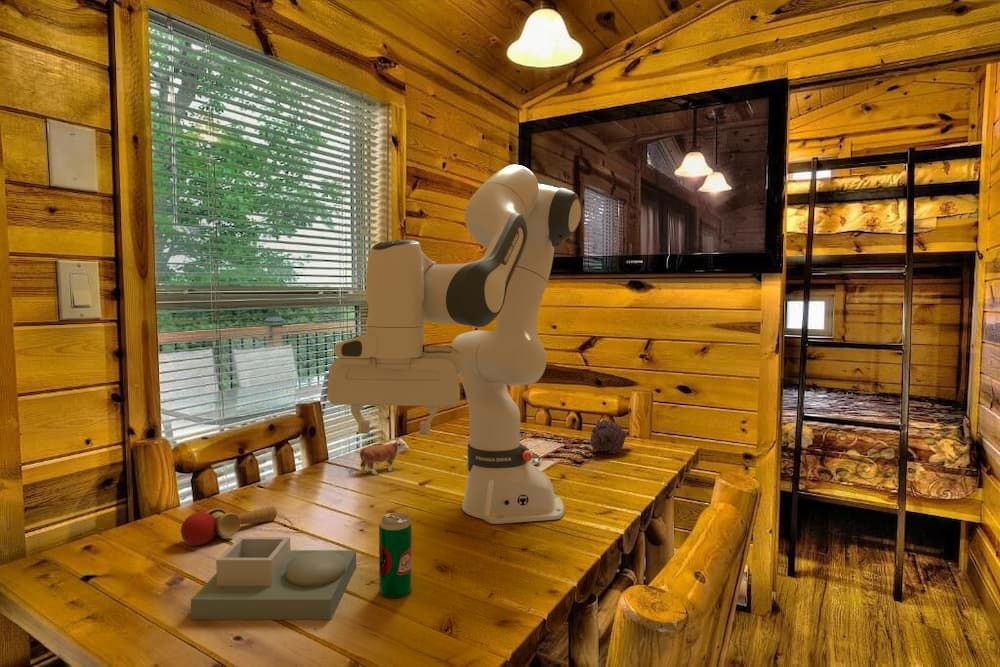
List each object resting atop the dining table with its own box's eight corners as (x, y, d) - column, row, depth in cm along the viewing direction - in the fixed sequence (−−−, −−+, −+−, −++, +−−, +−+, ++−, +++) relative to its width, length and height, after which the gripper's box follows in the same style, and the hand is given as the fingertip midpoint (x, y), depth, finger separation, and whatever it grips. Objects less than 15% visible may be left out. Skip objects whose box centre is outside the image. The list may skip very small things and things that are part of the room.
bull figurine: (410, 469, 155) (410, 439, 155) (362, 477, 148) (362, 446, 147) (403, 465, 159) (403, 435, 158) (356, 473, 151) (356, 442, 151)
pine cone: (605, 463, 163) (606, 428, 162) (576, 456, 169) (576, 422, 169) (636, 451, 176) (636, 418, 175) (607, 445, 183) (608, 413, 182)
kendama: (258, 521, 123) (170, 537, 109) (265, 492, 123) (176, 505, 108) (278, 537, 118) (188, 556, 104) (285, 507, 118) (195, 523, 104)
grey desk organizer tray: (356, 567, 100) (356, 527, 99) (331, 619, 84) (330, 572, 83) (239, 567, 99) (238, 527, 99) (191, 619, 83) (190, 572, 83)
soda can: (404, 601, 89) (404, 525, 88) (373, 597, 90) (373, 522, 89) (415, 585, 94) (416, 513, 93) (386, 581, 95) (386, 510, 94)
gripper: (463, 344, 93) (462, 429, 93) (335, 342, 92) (335, 427, 93) (461, 347, 86) (460, 439, 87) (323, 345, 86) (323, 437, 87)
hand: (394, 433), depth 90 cm, fingers open, 8 cm apart
